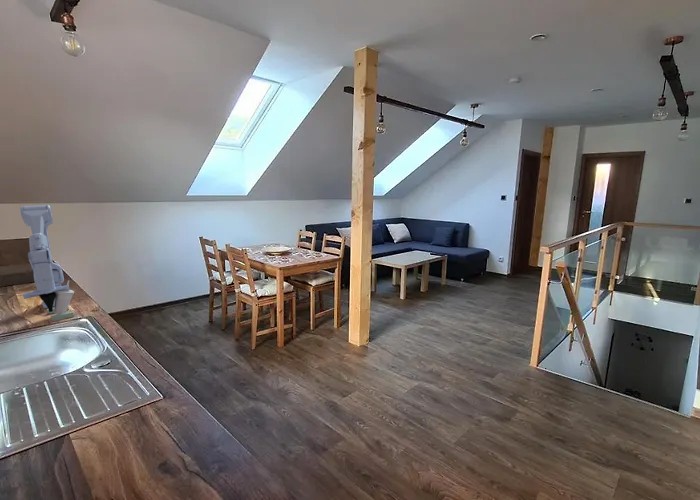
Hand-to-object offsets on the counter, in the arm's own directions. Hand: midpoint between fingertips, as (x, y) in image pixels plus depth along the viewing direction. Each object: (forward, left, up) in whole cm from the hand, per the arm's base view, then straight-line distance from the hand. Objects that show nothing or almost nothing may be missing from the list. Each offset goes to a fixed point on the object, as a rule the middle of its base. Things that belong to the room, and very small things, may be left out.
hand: (50, 311), depth 151 cm
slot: (0, +3, -2) cm, 4 cm away
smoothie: (0, +3, -2) cm, 3 cm away
